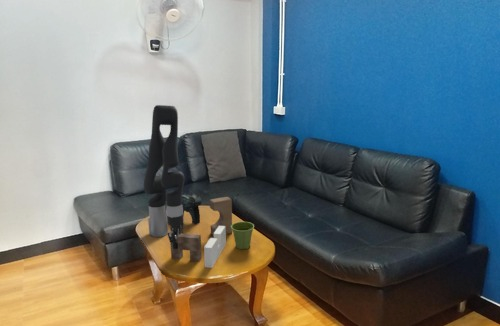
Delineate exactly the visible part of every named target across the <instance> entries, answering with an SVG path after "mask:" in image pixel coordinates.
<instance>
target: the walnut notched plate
mask: <svg viewBox="0 0 500 326" xmlns="http://www.w3.org/2000/svg"><path fill="white" fill-rule="evenodd" d="M201 237H202V235H201V234H196V233H195V234H194V233H184V232H183V233H181V234H179V236H178V237H177V243H178V249H173V243H170V242H169V244H170V256H171V257H170V259H171V260H182V259H183V257H184V251H188V252H189V261H191V262H200V261H201V259H202V258H203V257H202V255H203V254H202V238H201ZM175 240H176V238H175Z"/></svg>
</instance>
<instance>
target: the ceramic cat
mask: <svg viewBox="0 0 500 326" xmlns="http://www.w3.org/2000/svg"><path fill="white" fill-rule="evenodd" d="M187 192H190V195H189V194H187V193H185V192H183V194H182V206H183V218H184V217H185V216H184V215H185V212H186V213H189V215H190V217H191V222H192V224H195V225H197V224H200V223H201V214H200V208H199V207H200V206H201V205H202V198H201V197H200V195H199V193H198V194H197V195H195V193H192V190H191V189H188V190H187Z"/></svg>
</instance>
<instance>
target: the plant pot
mask: <svg viewBox="0 0 500 326" xmlns="http://www.w3.org/2000/svg"><path fill="white" fill-rule="evenodd" d="M231 228H232V233H233V237H234V243H235V247H236V248H237V249H238V250H247V249H249V248H250V247H251V241H252V236H253V230H254V228H255V224H254V223H252V222H249V221H237V222H234V223H232V225H231Z"/></svg>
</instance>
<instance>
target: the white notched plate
mask: <svg viewBox="0 0 500 326" xmlns="http://www.w3.org/2000/svg"><path fill="white" fill-rule="evenodd" d="M226 237H227V234H226V226H218V228H217V229H216V231H215V232H214V236H213V237H210V238H209V239H208V241H207V243H206V244H204V247H203V250H204V251H203V252H204V253H203V255H204V267H205V268H211V269H213V268H214V266H215V264H216V262H217V260H218V258H219V257H220V255H221V253H222V251H223V250H224V248H225V246H226V244H227V240H226V239H227V238H226Z"/></svg>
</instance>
